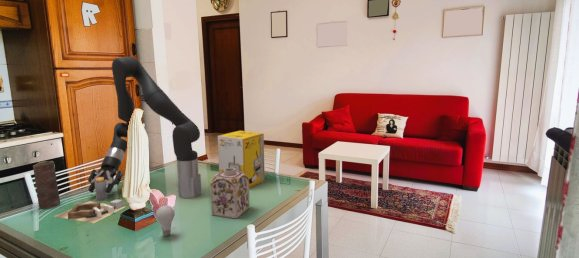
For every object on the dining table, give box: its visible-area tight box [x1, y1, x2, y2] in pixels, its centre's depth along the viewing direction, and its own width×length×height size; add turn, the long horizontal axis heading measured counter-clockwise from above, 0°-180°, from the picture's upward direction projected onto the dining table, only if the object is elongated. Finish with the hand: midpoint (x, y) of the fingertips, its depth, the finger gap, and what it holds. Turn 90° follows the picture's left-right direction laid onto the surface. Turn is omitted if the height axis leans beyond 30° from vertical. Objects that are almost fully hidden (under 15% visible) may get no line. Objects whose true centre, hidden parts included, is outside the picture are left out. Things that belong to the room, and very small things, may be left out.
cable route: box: [86, 199, 124, 218], centre depth 136 cm, size 7×14×3 cm, turn 162°
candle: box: [32, 160, 61, 210], centre depth 142 cm, size 8×7×20 cm
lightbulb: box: [155, 205, 176, 237], centre depth 118 cm, size 6×6×11 cm
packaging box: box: [217, 130, 266, 189], centre depth 172 cm, size 16×16×25 cm
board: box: [53, 200, 126, 224], centre depth 137 cm, size 20×16×1 cm
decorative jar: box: [210, 168, 250, 219], centre depth 137 cm, size 12×12×18 cm
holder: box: [67, 202, 101, 220], centre depth 135 cm, size 9×9×2 cm
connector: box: [94, 177, 109, 202], centre depth 150 cm, size 4×4×10 cm
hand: (98, 192), depth 148 cm, fingers open, 7 cm apart
